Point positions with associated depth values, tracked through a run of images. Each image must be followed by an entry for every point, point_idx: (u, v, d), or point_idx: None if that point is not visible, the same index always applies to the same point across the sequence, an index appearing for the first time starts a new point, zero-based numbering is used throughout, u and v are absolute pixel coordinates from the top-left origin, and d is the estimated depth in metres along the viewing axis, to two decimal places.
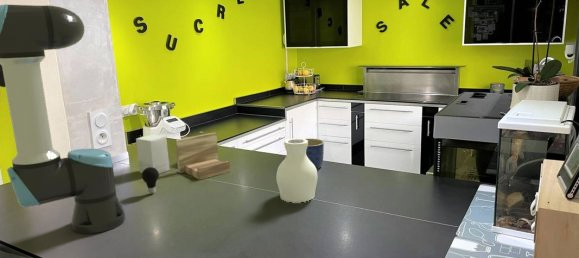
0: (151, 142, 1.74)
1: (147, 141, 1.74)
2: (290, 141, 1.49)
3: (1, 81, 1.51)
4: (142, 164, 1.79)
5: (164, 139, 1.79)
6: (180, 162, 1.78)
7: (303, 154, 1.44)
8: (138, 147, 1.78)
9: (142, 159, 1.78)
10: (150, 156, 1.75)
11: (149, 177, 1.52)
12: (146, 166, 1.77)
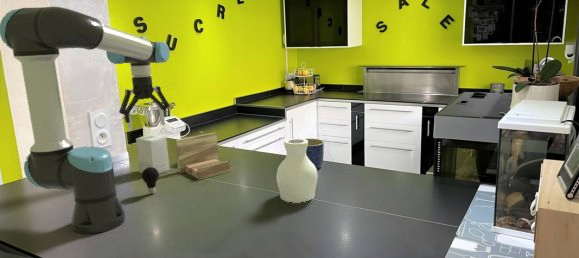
0: (151, 142, 1.74)
1: (147, 141, 1.74)
2: (290, 141, 1.49)
3: (141, 94, 1.72)
4: (142, 164, 1.79)
5: (164, 139, 1.79)
6: (180, 162, 1.78)
7: (303, 154, 1.44)
8: (138, 147, 1.78)
9: (142, 159, 1.78)
10: (150, 156, 1.75)
11: (149, 177, 1.52)
12: (146, 166, 1.77)
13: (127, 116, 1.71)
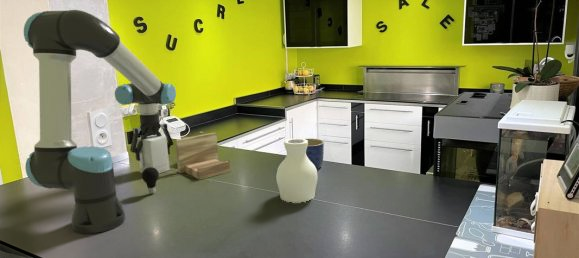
0: (151, 142, 1.74)
1: (147, 141, 1.74)
2: (290, 141, 1.49)
3: (148, 131, 1.76)
4: None
5: (164, 139, 1.79)
6: (180, 162, 1.78)
7: (303, 154, 1.44)
8: None
9: (142, 159, 1.78)
10: (150, 156, 1.75)
11: (149, 177, 1.52)
12: (146, 166, 1.77)
13: (138, 154, 1.76)
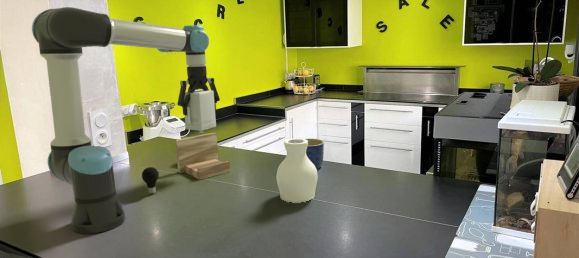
0: (200, 95, 1.66)
1: (195, 94, 1.66)
2: (290, 141, 1.49)
3: (196, 84, 1.68)
4: None
5: (211, 93, 1.72)
6: (180, 162, 1.78)
7: (303, 154, 1.44)
8: None
9: None
10: (198, 110, 1.67)
11: (149, 177, 1.52)
12: (193, 121, 1.69)
13: (185, 108, 1.68)
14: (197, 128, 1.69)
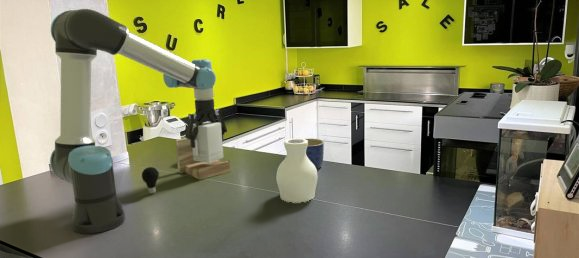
0: (207, 128, 1.68)
1: (203, 127, 1.68)
2: (290, 141, 1.49)
3: (204, 117, 1.70)
4: None
5: (219, 125, 1.74)
6: (180, 162, 1.78)
7: (303, 154, 1.44)
8: None
9: None
10: (206, 143, 1.69)
11: (149, 177, 1.52)
12: (201, 153, 1.72)
13: (193, 141, 1.70)
14: (204, 160, 1.71)
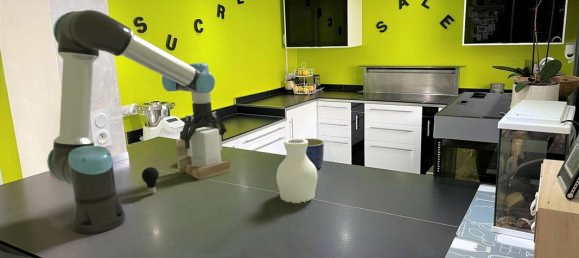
0: (205, 134, 1.71)
1: (201, 133, 1.71)
2: (290, 141, 1.49)
3: (201, 120, 1.72)
4: (194, 157, 1.76)
5: (217, 132, 1.76)
6: (180, 162, 1.78)
7: (303, 154, 1.44)
8: (191, 140, 1.75)
9: (195, 152, 1.75)
10: (203, 149, 1.72)
11: (149, 177, 1.52)
12: (198, 159, 1.74)
13: (187, 142, 1.71)
14: (202, 166, 1.74)
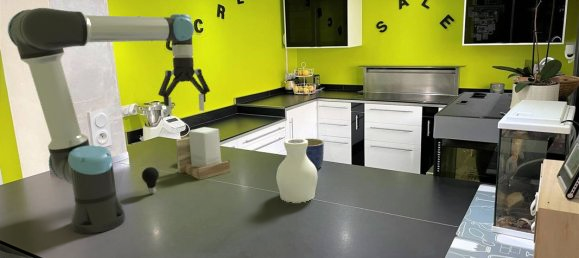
0: (205, 134, 1.71)
1: (201, 133, 1.71)
2: (290, 141, 1.49)
3: (181, 76, 1.61)
4: (194, 157, 1.76)
5: (217, 132, 1.76)
6: (180, 162, 1.78)
7: (303, 154, 1.44)
8: (191, 140, 1.75)
9: (195, 152, 1.75)
10: (203, 149, 1.72)
11: (149, 177, 1.52)
12: (198, 159, 1.74)
13: (166, 99, 1.60)
14: (202, 166, 1.74)
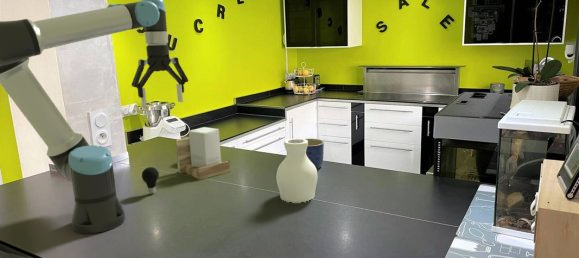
0: (205, 134, 1.71)
1: (201, 133, 1.71)
2: (290, 141, 1.49)
3: (156, 65, 1.50)
4: (194, 157, 1.76)
5: (217, 132, 1.76)
6: (180, 162, 1.78)
7: (303, 154, 1.44)
8: (191, 140, 1.75)
9: (195, 152, 1.75)
10: (203, 149, 1.72)
11: (149, 177, 1.52)
12: (198, 159, 1.74)
13: (140, 90, 1.49)
14: (202, 166, 1.74)
